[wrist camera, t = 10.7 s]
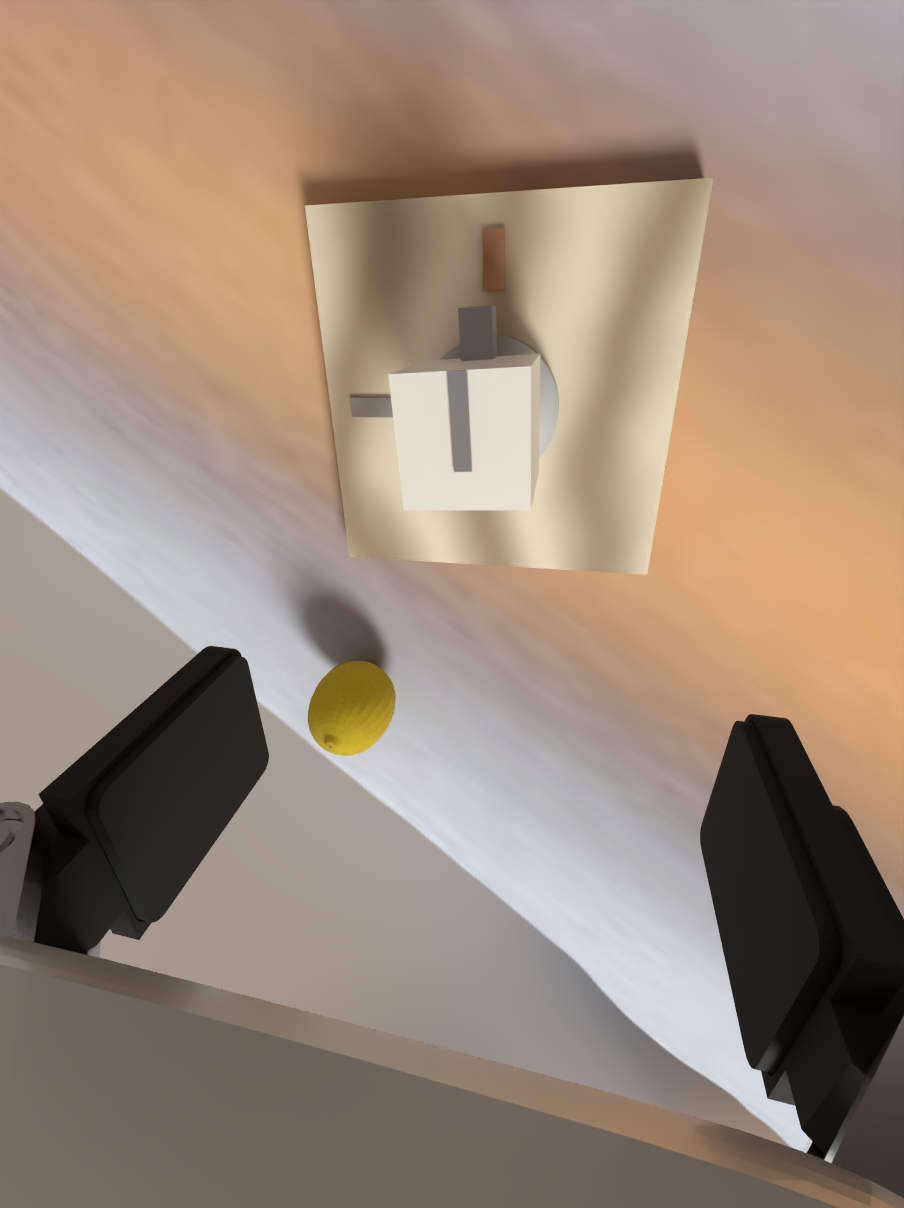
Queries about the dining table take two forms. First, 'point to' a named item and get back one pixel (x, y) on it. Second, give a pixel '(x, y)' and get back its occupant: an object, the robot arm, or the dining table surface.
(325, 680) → the lemon
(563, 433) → the base
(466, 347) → the white box
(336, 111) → the dining table surface
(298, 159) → the dining table surface
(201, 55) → the dining table surface
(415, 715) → the dining table surface
